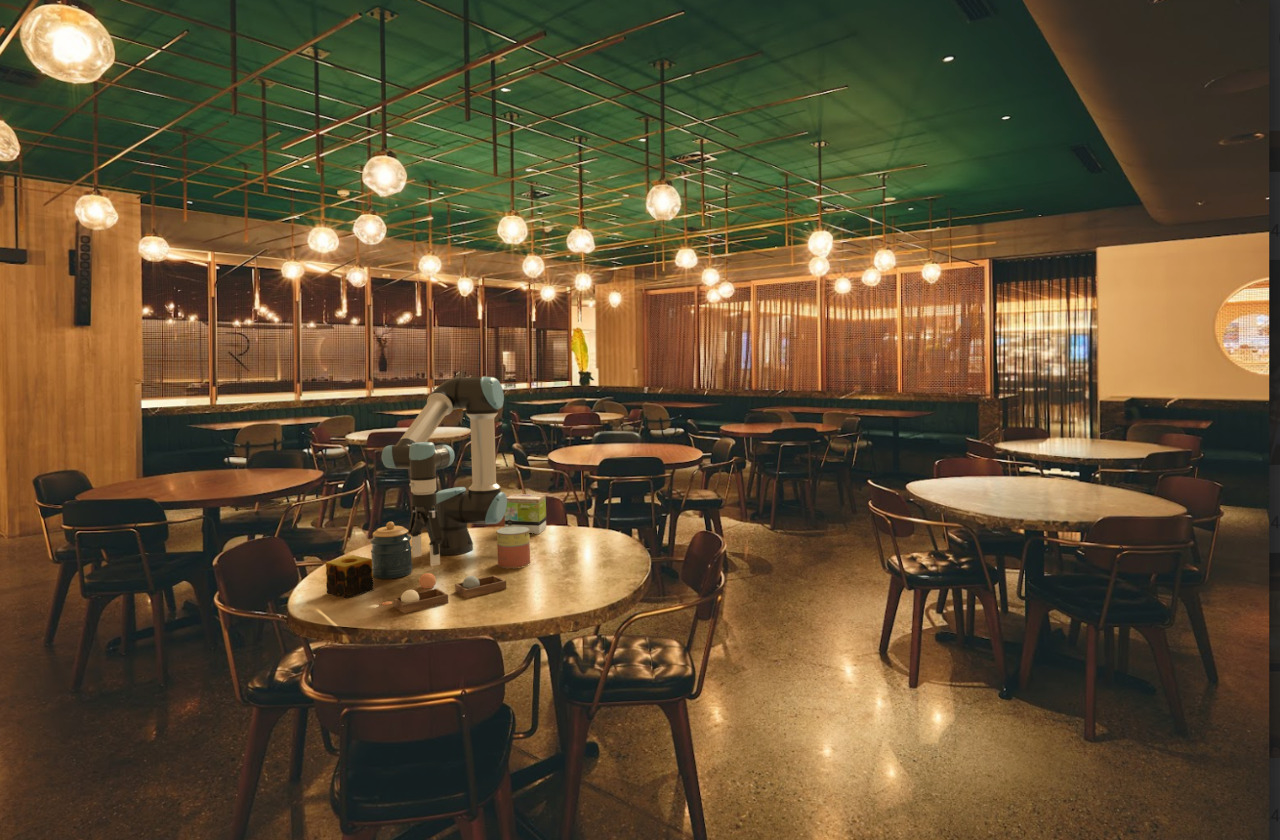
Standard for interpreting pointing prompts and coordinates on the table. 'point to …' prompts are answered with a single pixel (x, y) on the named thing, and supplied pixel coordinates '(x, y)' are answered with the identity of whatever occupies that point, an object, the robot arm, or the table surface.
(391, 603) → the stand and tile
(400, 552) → the canister
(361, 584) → the brown block
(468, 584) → the ball slate
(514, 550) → the canned food
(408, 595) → the ball cream
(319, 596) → the table surface
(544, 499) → the tea box
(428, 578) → the ball terracotta
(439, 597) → the trough
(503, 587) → the trough
